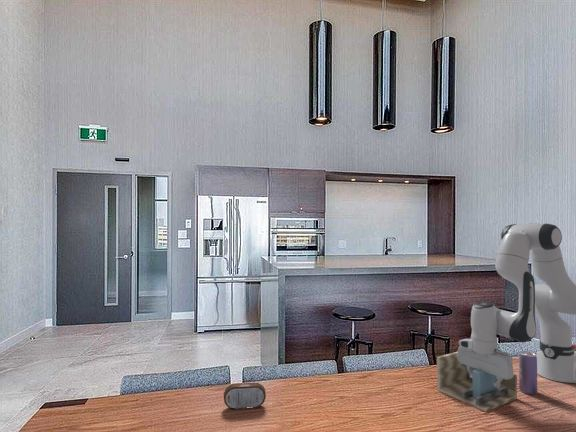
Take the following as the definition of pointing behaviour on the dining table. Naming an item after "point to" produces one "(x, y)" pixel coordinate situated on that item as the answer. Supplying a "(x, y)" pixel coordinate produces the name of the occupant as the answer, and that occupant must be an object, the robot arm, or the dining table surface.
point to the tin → (244, 395)
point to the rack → (471, 385)
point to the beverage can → (528, 372)
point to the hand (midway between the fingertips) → (484, 382)
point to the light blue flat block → (482, 383)
